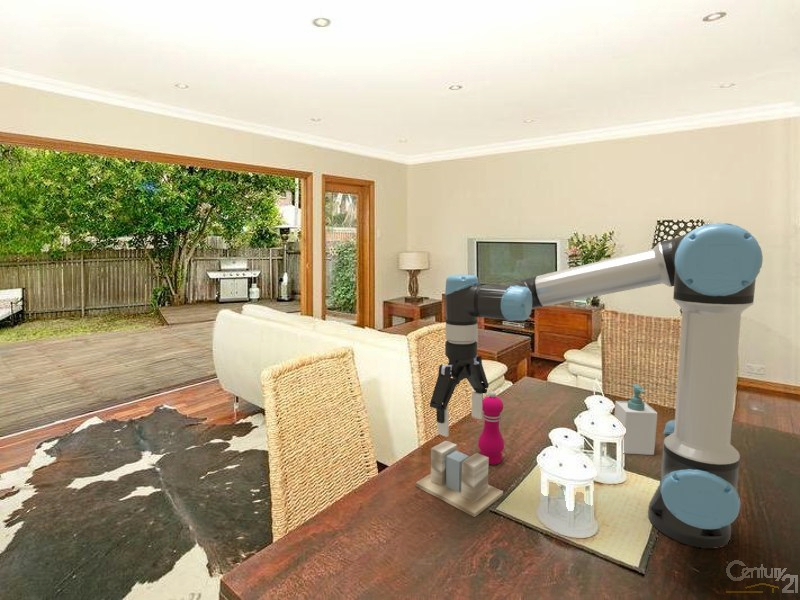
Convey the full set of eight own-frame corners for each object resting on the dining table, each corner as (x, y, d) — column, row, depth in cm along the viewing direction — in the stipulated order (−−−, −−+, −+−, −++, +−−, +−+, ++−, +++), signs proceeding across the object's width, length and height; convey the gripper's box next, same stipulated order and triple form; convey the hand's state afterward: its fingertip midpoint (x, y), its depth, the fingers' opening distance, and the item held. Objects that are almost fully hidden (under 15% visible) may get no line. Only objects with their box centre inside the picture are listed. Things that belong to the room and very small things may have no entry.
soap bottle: (623, 454, 129) (627, 390, 126) (612, 440, 138) (616, 380, 135) (654, 455, 128) (660, 392, 125) (641, 441, 137) (646, 381, 134)
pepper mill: (504, 466, 122) (506, 397, 119) (477, 464, 124) (479, 395, 121) (503, 454, 129) (505, 388, 126) (478, 451, 131) (479, 386, 128)
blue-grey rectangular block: (468, 486, 111) (469, 456, 110) (458, 492, 108) (459, 461, 107) (455, 480, 114) (456, 450, 113) (445, 486, 111) (446, 456, 110)
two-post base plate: (503, 495, 109) (504, 456, 107) (474, 517, 100) (475, 475, 99) (445, 468, 121) (445, 433, 120) (415, 486, 113) (415, 449, 111)
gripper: (478, 330, 117) (477, 407, 120) (413, 347, 99) (414, 437, 102) (503, 334, 112) (501, 415, 114) (440, 353, 94) (440, 448, 97)
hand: (460, 426), depth 108 cm, fingers open, 13 cm apart
